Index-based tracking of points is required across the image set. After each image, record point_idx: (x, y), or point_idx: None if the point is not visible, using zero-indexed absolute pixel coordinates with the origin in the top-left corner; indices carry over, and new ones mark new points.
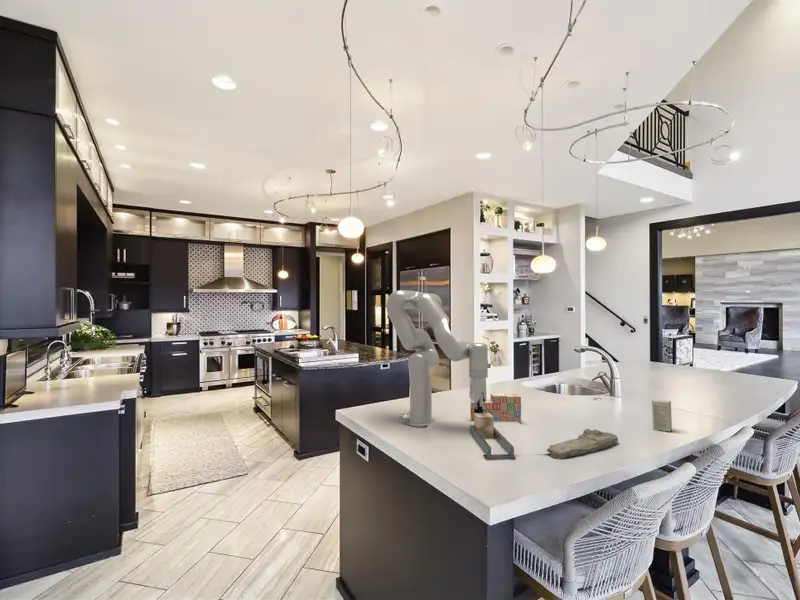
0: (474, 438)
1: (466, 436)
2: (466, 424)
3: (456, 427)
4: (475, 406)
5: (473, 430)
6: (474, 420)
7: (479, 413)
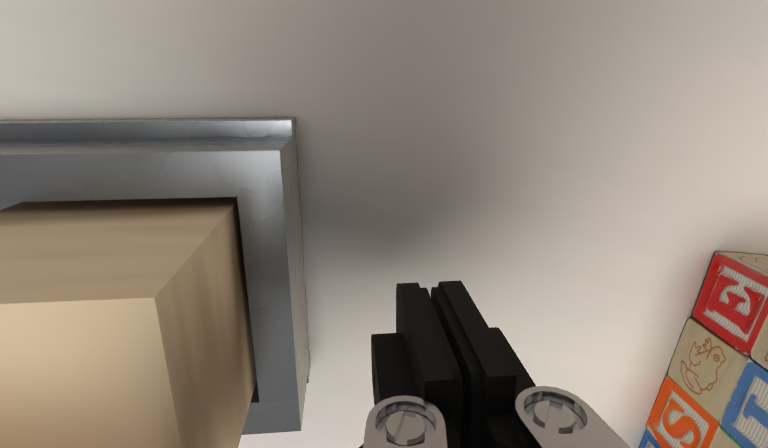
0: (26, 140)
1: (254, 85)
2: (690, 183)
3: (610, 37)
4: (522, 432)
5: (24, 153)
6: (177, 238)
7: (141, 404)
